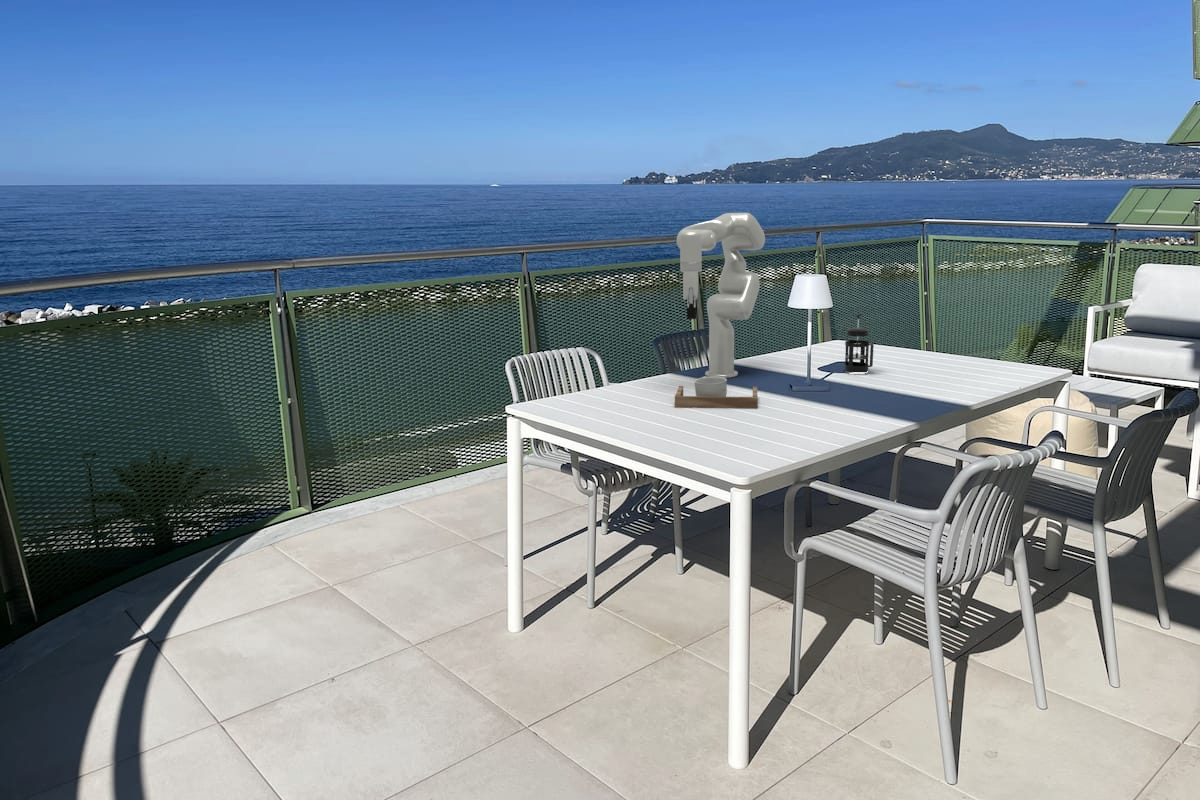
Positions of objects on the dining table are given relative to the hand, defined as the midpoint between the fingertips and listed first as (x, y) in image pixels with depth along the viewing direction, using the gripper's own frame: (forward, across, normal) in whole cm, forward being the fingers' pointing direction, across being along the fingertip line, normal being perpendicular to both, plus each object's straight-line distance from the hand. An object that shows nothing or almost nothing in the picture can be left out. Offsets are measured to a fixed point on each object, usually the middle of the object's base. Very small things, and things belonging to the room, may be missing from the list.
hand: (691, 318), depth 308 cm
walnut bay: (+25, +21, +9) cm, 34 cm away
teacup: (+26, +21, +6) cm, 34 cm away
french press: (+27, -29, +63) cm, 74 cm away
